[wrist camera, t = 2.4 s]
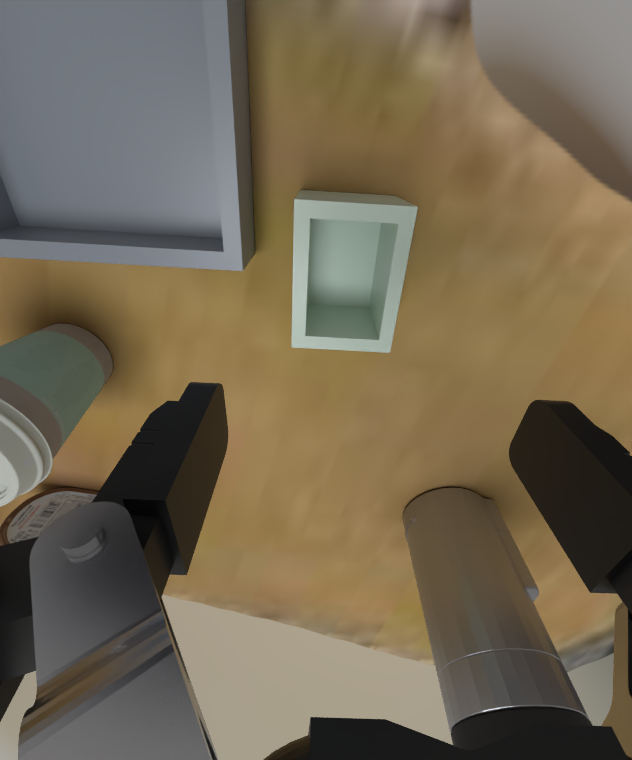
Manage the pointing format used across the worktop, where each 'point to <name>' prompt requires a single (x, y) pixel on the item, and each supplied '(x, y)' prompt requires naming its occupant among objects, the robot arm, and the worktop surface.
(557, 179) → the worktop surface
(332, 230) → the small crate
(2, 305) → the worktop surface
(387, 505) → the worktop surface
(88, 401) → the coffee cup
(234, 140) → the large crate
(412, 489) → the worktop surface
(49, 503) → the tin
